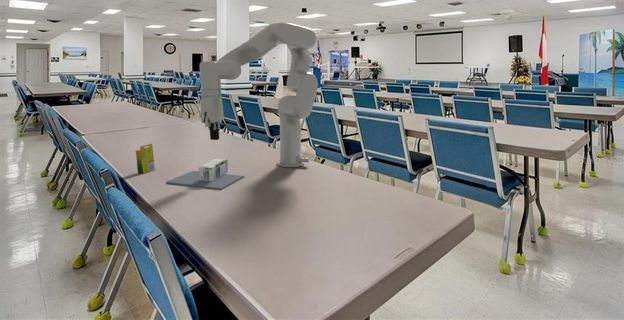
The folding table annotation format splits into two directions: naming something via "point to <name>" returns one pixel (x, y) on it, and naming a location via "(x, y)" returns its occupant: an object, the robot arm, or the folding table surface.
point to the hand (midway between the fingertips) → (214, 139)
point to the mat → (194, 181)
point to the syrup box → (213, 169)
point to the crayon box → (145, 159)
